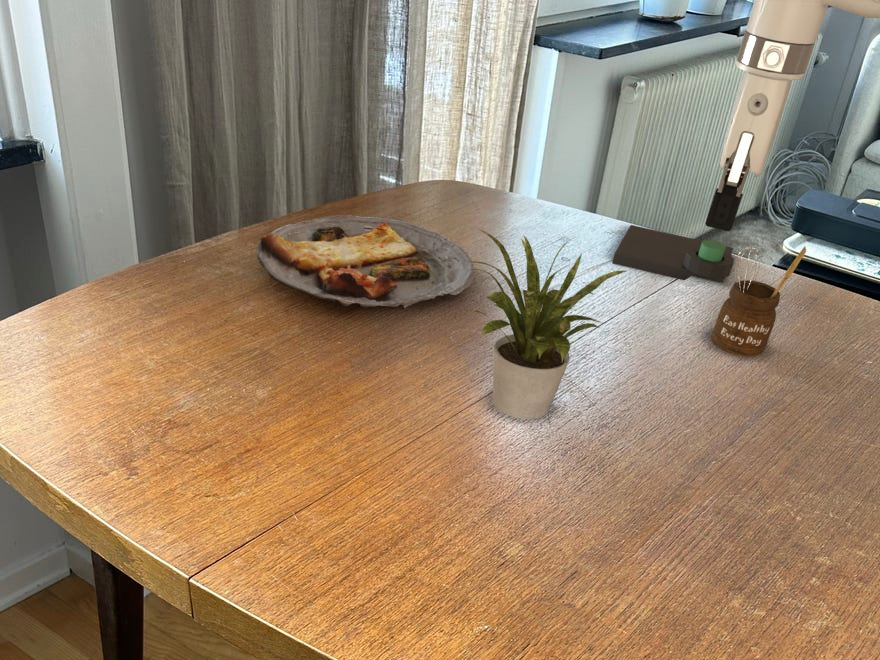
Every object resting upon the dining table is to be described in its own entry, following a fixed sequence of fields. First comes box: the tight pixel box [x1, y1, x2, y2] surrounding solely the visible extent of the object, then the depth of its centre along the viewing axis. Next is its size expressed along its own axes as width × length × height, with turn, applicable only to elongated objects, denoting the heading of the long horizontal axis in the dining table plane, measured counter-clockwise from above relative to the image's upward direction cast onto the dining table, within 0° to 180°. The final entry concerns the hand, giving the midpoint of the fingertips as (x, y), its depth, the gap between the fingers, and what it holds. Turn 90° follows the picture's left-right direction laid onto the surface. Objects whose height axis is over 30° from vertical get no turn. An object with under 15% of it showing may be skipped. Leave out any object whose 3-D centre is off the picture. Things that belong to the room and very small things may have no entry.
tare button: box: [698, 239, 727, 262], centre depth 119 cm, size 3×3×2 cm
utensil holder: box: [710, 245, 807, 357], centre depth 102 cm, size 6×6×12 cm
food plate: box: [256, 214, 474, 309], centre depth 110 cm, size 25×23×4 cm
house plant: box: [465, 227, 627, 420], centre depth 86 cm, size 14×14×16 cm
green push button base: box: [611, 224, 735, 284], centre depth 123 cm, size 14×13×3 cm
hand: (718, 226), depth 117 cm, fingers closed
